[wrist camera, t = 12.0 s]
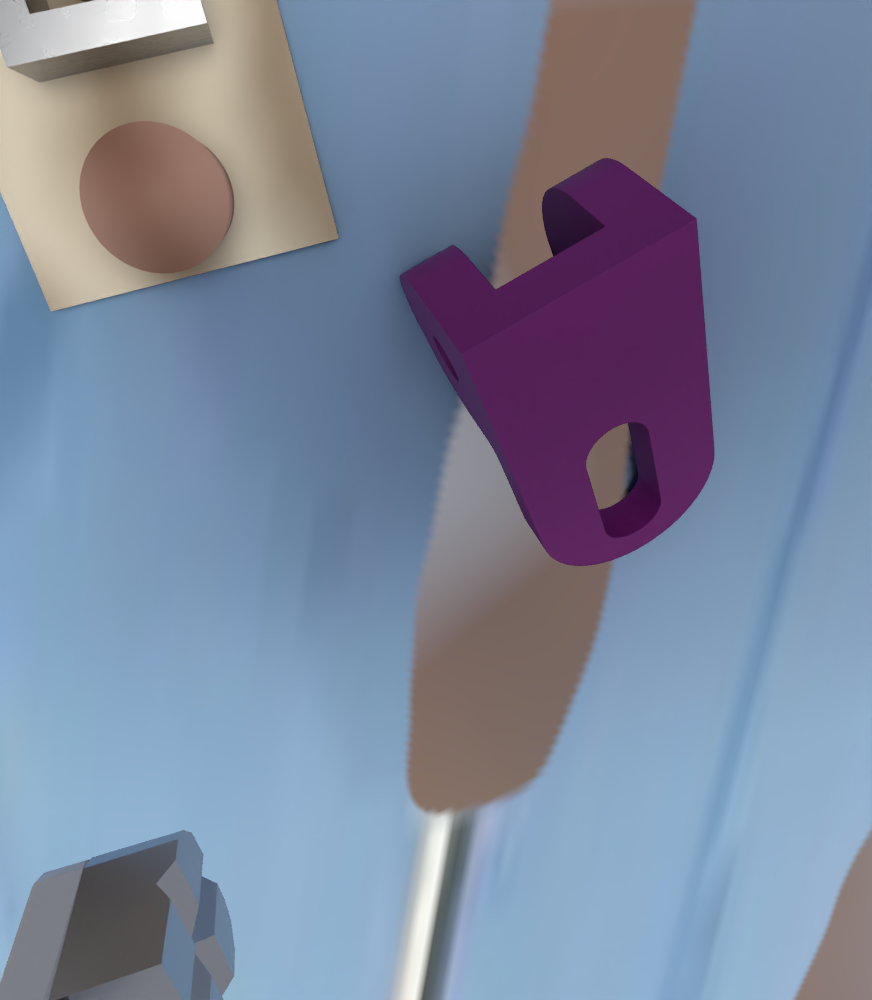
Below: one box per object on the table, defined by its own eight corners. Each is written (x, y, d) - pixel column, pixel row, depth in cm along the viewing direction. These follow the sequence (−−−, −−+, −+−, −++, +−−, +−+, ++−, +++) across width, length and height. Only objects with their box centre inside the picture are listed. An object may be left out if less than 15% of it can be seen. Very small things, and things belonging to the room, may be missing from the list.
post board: (231, -162, 28) (222, -268, 21) (336, 236, 34) (354, 248, 27) (-110, -95, 27) (-231, -186, 20) (58, 307, 32) (6, 337, 26)
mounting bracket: (631, 407, 46) (577, 128, 32) (718, 502, 41) (697, 217, 27) (493, 486, 46) (380, 241, 32) (561, 592, 41) (461, 353, 27)
